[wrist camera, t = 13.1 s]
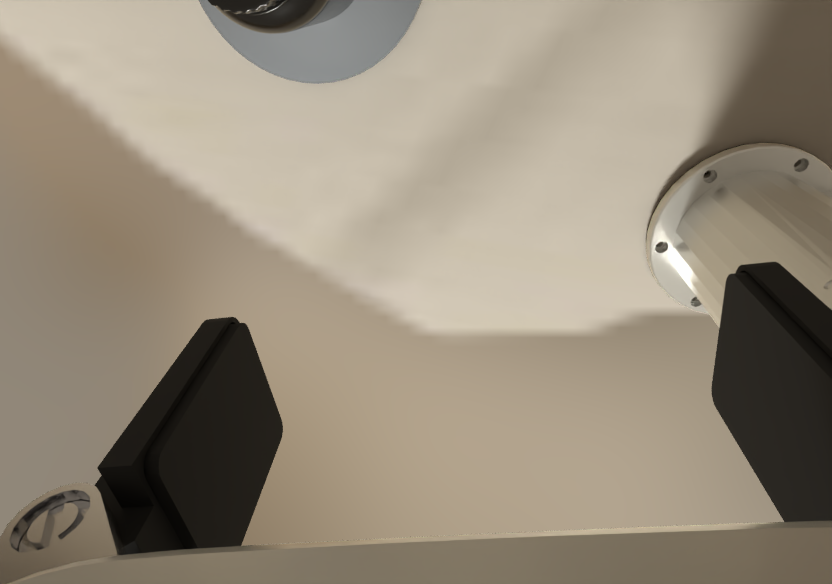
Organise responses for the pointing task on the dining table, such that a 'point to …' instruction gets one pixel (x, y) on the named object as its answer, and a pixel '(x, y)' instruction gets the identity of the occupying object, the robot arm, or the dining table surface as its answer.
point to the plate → (323, 41)
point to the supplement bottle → (280, 13)
